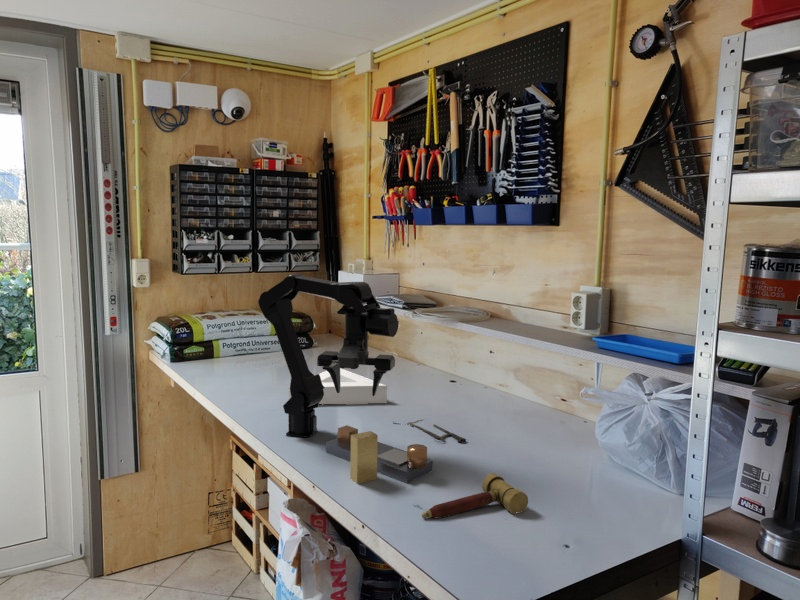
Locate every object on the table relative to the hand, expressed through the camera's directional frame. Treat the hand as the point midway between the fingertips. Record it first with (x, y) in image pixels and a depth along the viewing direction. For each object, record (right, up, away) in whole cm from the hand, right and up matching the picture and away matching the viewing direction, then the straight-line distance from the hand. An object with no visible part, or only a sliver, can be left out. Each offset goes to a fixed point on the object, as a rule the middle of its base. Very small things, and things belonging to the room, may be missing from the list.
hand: (356, 394), depth 151 cm
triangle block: (-5, -9, +41) cm, 42 cm away
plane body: (+6, -14, -9) cm, 18 cm away
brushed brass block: (+3, -16, -19) cm, 25 cm away
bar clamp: (+18, -13, +12) cm, 25 cm away
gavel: (+25, -18, -32) cm, 44 cm away
